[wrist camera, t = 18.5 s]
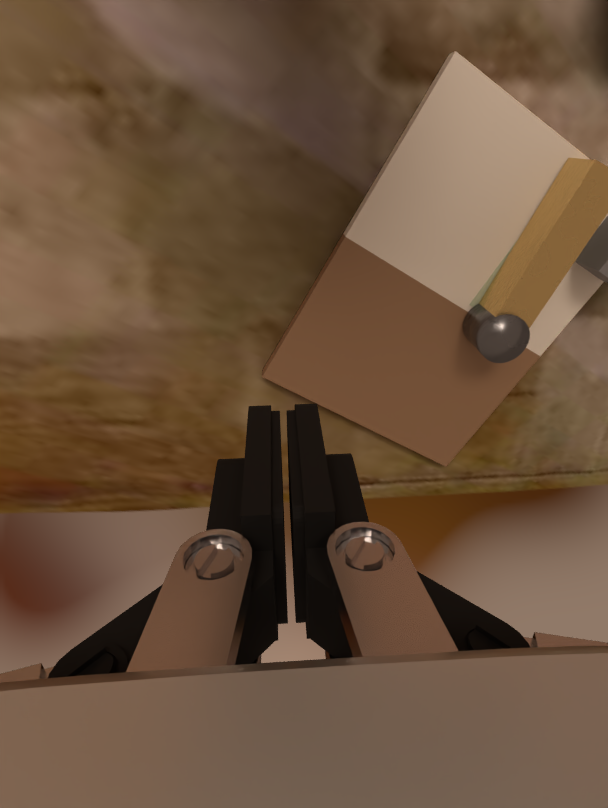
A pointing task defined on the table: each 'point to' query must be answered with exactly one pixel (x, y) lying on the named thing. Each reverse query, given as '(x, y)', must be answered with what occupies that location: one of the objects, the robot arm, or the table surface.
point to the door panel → (434, 272)
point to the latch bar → (539, 260)
